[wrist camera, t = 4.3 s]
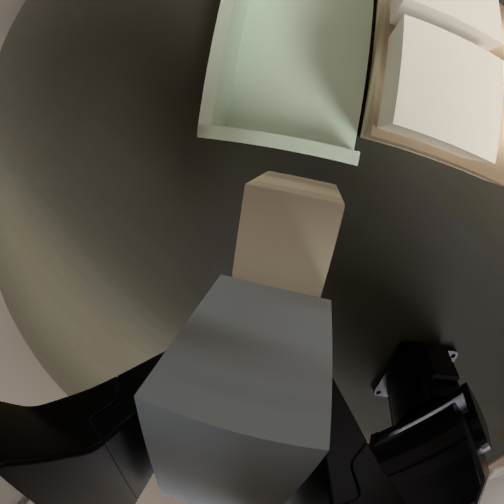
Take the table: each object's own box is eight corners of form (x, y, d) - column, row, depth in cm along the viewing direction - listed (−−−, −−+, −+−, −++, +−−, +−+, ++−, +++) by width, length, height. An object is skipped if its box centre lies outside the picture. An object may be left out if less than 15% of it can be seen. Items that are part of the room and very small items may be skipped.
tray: (350, 162, 18) (357, 166, 15) (216, 137, 19) (196, 137, 16) (374, -36, 11) (380, -59, 8) (252, -51, 13) (241, -74, 10)
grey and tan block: (286, 389, 14) (251, 535, 6) (228, 374, 14) (167, 512, 7) (344, 186, 10) (410, 313, 2) (260, 169, 10) (116, 243, 3)
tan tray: (482, 179, 16) (511, 189, 12) (359, 137, 17) (370, 135, 14) (494, 29, 11) (518, 16, 7) (377, -20, 12) (386, -46, 8)
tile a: (463, 158, 12) (495, 164, 9) (376, 127, 13) (392, 123, 10) (474, 71, 10) (504, 60, 7) (388, 37, 11) (404, 14, 8)
